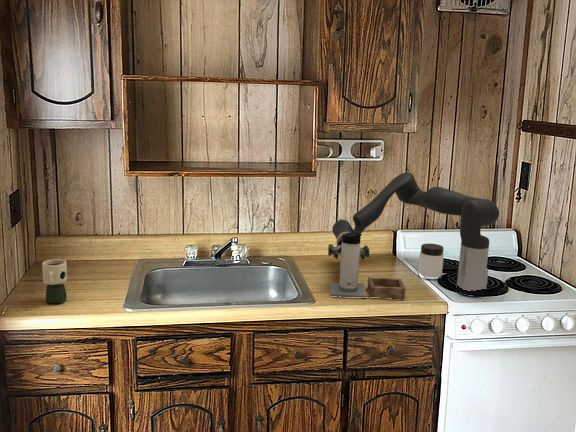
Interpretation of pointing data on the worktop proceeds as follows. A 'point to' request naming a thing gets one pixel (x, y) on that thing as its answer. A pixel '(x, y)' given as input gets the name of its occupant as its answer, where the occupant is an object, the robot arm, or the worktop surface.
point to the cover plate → (338, 292)
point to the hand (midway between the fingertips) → (349, 256)
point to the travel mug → (349, 261)
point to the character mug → (55, 280)
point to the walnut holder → (386, 288)
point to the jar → (431, 260)
